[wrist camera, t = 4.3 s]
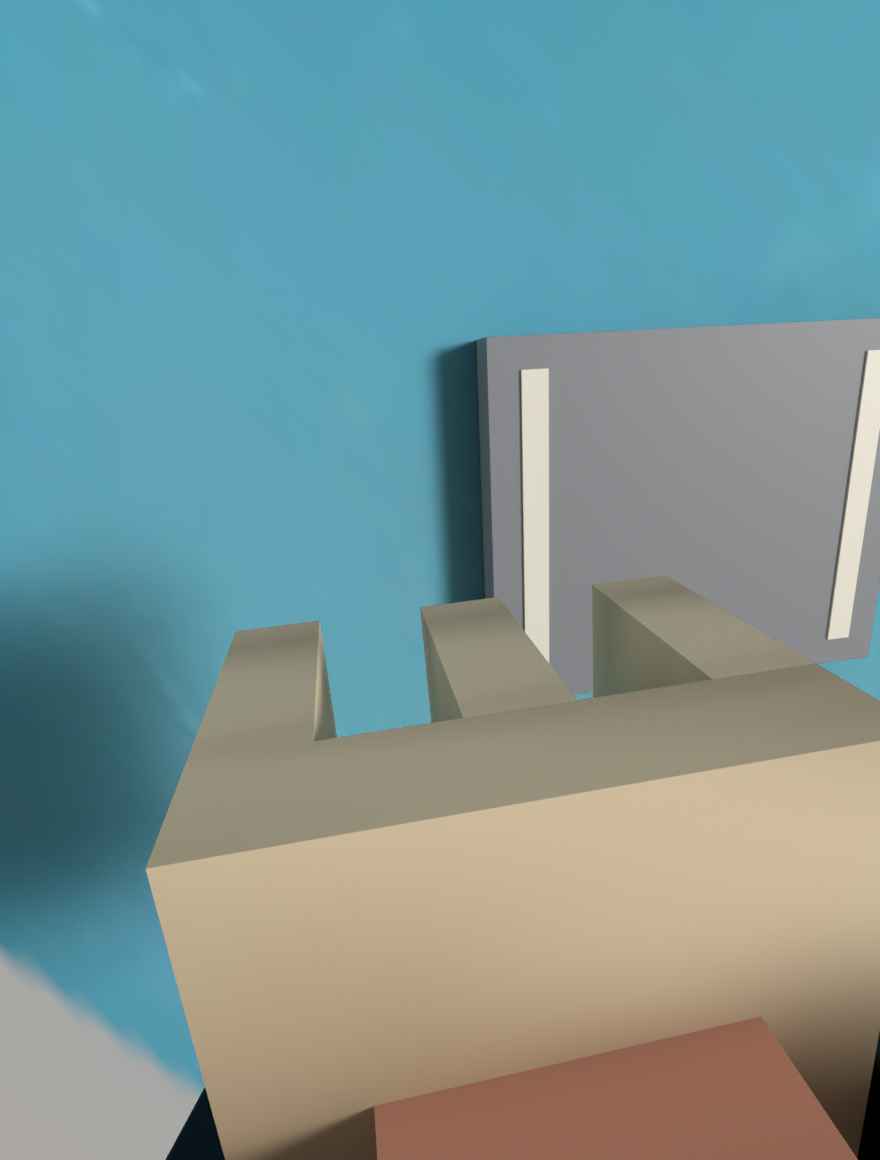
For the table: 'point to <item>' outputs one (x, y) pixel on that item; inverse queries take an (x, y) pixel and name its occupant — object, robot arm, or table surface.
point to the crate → (627, 1107)
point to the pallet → (520, 867)
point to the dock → (685, 478)
